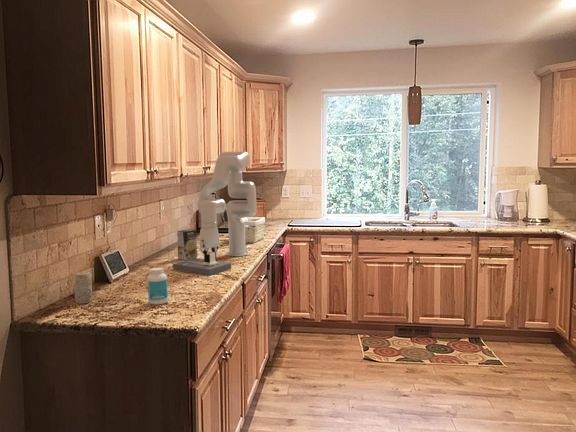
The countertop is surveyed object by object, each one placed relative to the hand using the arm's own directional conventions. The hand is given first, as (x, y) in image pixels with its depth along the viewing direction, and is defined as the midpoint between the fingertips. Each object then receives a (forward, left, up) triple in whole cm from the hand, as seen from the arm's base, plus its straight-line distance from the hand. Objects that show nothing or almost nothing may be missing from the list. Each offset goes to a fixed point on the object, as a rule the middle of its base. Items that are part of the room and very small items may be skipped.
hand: (210, 261), depth 244 cm
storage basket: (-81, -38, -5) cm, 90 cm away
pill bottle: (+51, +19, -5) cm, 55 cm away
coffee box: (-16, -32, -5) cm, 36 cm away
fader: (0, 0, -1) cm, 1 cm away
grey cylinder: (+66, -7, -5) cm, 67 cm away
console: (0, -6, -5) cm, 8 cm away
